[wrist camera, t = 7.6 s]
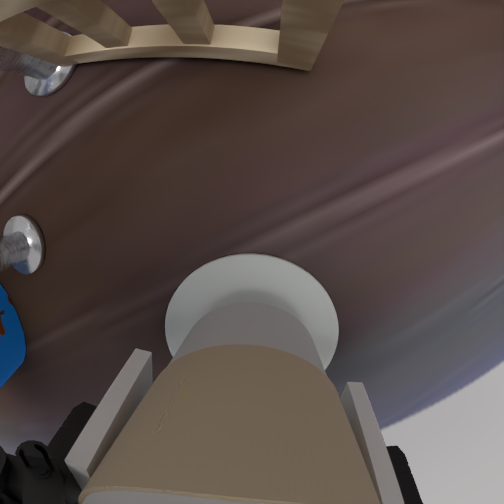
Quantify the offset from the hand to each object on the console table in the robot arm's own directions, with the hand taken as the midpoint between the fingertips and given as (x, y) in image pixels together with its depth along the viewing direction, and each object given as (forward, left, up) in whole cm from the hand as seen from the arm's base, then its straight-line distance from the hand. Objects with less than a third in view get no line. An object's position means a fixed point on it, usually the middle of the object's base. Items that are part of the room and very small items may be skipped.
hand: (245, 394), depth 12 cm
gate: (-6, +15, -4) cm, 17 cm away
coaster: (0, 0, -5) cm, 5 cm away
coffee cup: (0, 0, -3) cm, 3 cm away
